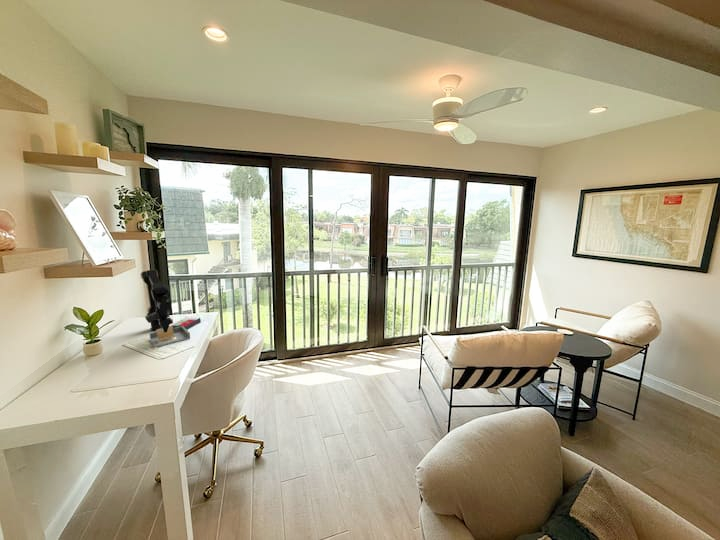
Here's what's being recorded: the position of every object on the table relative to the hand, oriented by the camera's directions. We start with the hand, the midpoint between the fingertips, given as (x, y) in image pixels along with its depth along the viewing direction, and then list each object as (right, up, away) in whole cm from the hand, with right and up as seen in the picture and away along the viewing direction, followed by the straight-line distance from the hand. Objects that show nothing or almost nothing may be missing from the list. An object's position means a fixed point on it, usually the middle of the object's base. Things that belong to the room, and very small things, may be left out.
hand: (165, 332), depth 174 cm
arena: (+1, -5, +2) cm, 6 cm away
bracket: (+1, -3, -1) cm, 4 cm away
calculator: (-2, -1, +24) cm, 24 cm away
